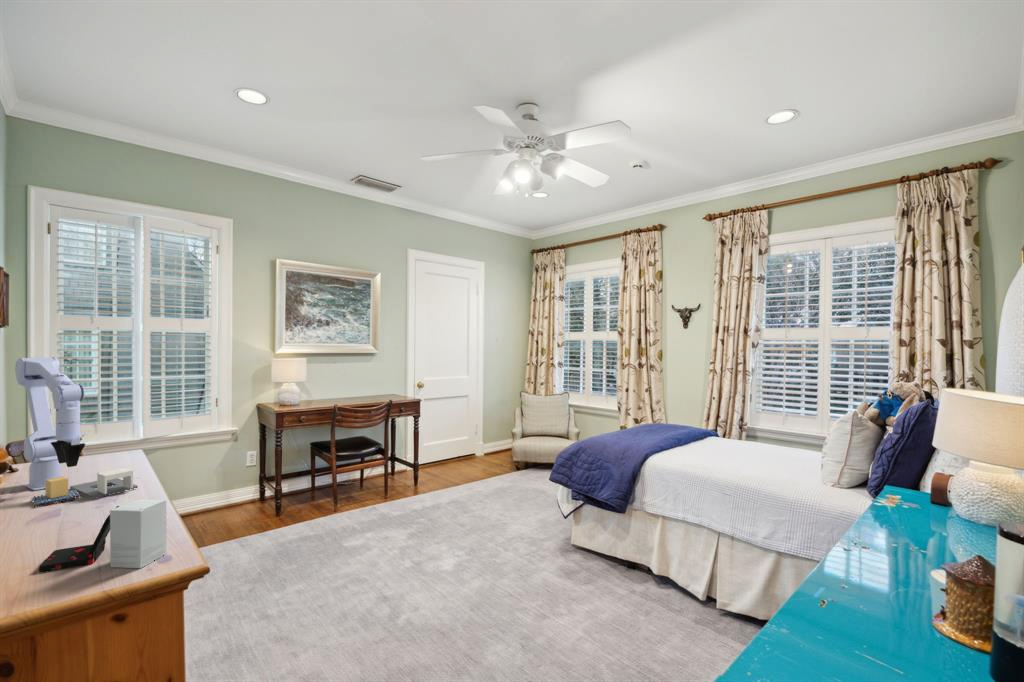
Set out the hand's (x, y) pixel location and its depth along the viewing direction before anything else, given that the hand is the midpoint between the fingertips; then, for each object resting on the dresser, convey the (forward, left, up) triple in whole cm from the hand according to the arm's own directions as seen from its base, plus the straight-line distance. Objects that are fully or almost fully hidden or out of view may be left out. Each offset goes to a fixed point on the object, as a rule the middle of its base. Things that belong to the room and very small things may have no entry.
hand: (67, 464), depth 151 cm
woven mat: (+5, -4, -10) cm, 12 cm away
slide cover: (+13, +8, -8) cm, 17 cm away
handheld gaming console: (+62, -14, -10) cm, 64 cm away
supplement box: (+74, -8, -10) cm, 75 cm away
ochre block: (+5, -4, -8) cm, 10 cm away
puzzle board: (+4, +8, -9) cm, 13 cm away
